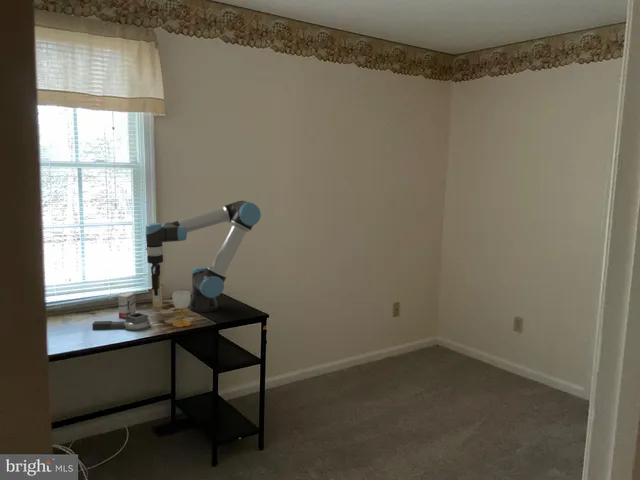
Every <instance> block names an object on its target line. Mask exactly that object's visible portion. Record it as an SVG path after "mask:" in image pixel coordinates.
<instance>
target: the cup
mask: <svg viewBox="0 0 640 480" xmlns="http://www.w3.org/2000/svg"><path fill="white" fill-rule="evenodd" d="M191 298H192V294H191V291H187V290H177V291H174V292H172V295H171V299H172V303H173V305H174V307H175V309H176V310H177V311H180V321H175V322H173V323H172V326H174V327H176V328H184V327H183V326H186V327H189V326H191V325H192V322H190V321H187V320H183V319H184V318H183V313H184V312H183V311H184V310H186V309H187V308H189V304H190V301H191Z"/></svg>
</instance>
